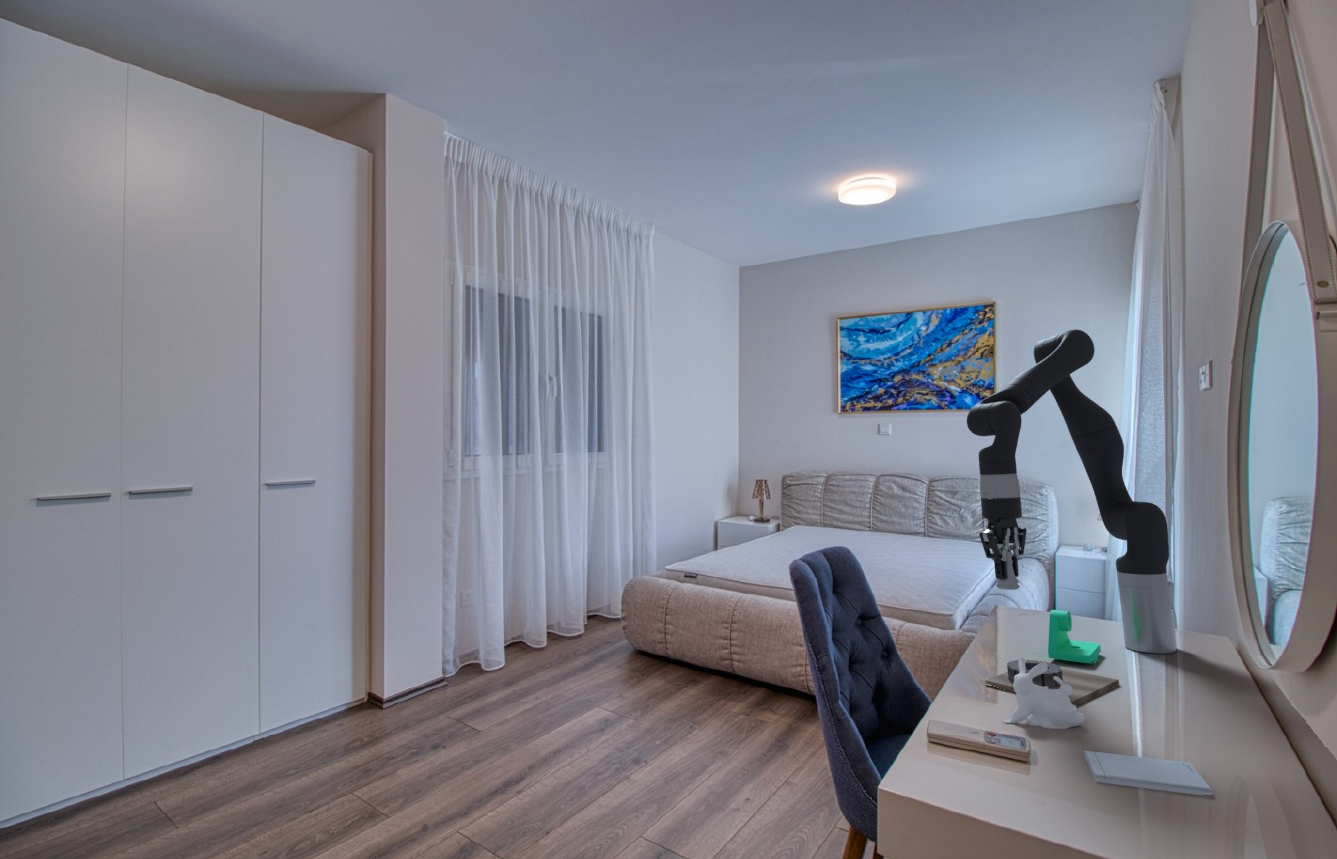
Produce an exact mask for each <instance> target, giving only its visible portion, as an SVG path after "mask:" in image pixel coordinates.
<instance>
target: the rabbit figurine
mask: <svg viewBox="0 0 1337 859" xmlns="http://www.w3.org/2000/svg"><path fill="white" fill-rule="evenodd" d="M1018 660H1019V661H1018V665H1019V671H1020V673H1019V674H1017V675H1015V676H1014V684H1013V687H1014V691H1015V692H1016V696H1015V698H1016V701H1017V703H1018V704H1017V707H1016V708H1015V710H1014V711H1013V713H1012V714H1011V716H1010V718H1008V719H1003V720H1004V721H1005V724H1006V723H1007V724H1012V723H1013V724H1014V725H1015V724H1018V723H1020V722H1022V721H1024V720H1026V721H1028V722H1027V723H1028V725H1030V726H1033V727H1034V726H1036V727H1037V726H1038V727H1042V728H1044V729H1053V730H1054V729H1059V730H1067V729H1069V728H1074V727H1079V726H1081V725H1082V724H1083V723H1084V722H1085V715H1084V713H1082V712H1079V711H1078V708H1077V706H1076V705H1075V706H1074V705H1073V704H1072V703H1071V701H1070V698H1069V697H1068V695H1072V694H1073V689H1072V687H1071V686H1070V685H1068V684H1065V683H1064V682H1063V681H1062V680H1061V679H1060V678H1059V677H1057V676H1054V677H1053V678H1054V680H1055V681H1057V682H1058V683H1059V684H1060V685H1061V687H1060V688H1059V689H1048V687H1049V686H1045V687H1041V686H1038V685H1035V684H1034V683H1033V681H1032V679H1033V678H1034V677H1036V676H1038V675H1040V674H1042V673H1044V672H1046V671H1047V670H1048V666H1047V663H1046V662H1047V661H1046V660H1042V661H1043V662H1041V663H1040V664H1038V665H1036V666H1035V667H1033V668H1032V669H1031V670H1030V671H1029V672H1028V673H1026V667H1025V660H1026V659H1025V658H1024V657H1020V658H1019V659H1018Z"/></svg>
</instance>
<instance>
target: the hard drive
mask: <svg viewBox="0 0 1337 859" xmlns="http://www.w3.org/2000/svg"><path fill="white" fill-rule="evenodd" d="M1083 755H1084V758H1085V760H1086V762H1087V765H1088V768H1089V769H1090V770H1089V771H1090V772H1091V774H1092V776H1093V779H1094V782H1095V783H1103V784H1109V785H1110V784H1111V785H1118V786H1127V787H1133V788H1141V789H1149V790H1154V791H1155V790H1157V791H1165V792H1173V793H1180V794H1185V795H1186V794H1188V795H1194V796H1196V795H1197V796H1202V795H1212V796H1213V792H1212V788H1211V786H1210V784H1208V782H1207V781H1206V780H1205V778H1204V777H1203V776H1202V775H1201V774H1200V772H1199V771H1198V770H1197V769H1196V768H1195V766H1194V765H1193V763H1192V762H1187V761H1178V760H1169V759H1161V758H1152V757H1144V756H1135V755H1134V756H1133V755H1127V754H1119V753H1108V752H1103V751H1102V752H1101V751H1091V750H1084V754H1083Z"/></svg>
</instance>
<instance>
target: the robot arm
mask: <svg viewBox="0 0 1337 859" xmlns="http://www.w3.org/2000/svg"><path fill="white" fill-rule="evenodd" d="M1094 356H1095V345H1094V342H1093V339H1092V337H1091V336H1090V335H1089V334H1088V333H1087V332H1085V331H1083V330H1082V329H1076V328H1075V329H1068V330H1066V331H1062V332H1059V333H1056V334H1054V335H1052V336H1049V337H1046V338H1043V339H1042V340H1039V341H1037V343H1035V345H1034V347H1033V357H1034V361H1035V364H1034V365H1033V366H1030V367H1029V368H1027V369H1025V370H1023V371H1022V372H1020V373H1019V374H1017V375H1016V376H1014V377H1013V378H1012V379H1010V381H1008V382H1007V383H1006V384H1005V385H1004V386H1003V387H1001V389H1000V390H999V391H997V392H995V393H993V394H991V395H989V396H988V397H986V398H984V399H982V400H980V401H979V402H977V403H976V404H975V405H973V406H972V407H971V408H970V410H969V411H968V414H967V416H966V425H967V428H968V430H969V431H970V432H971V433H972V434H974V435H975V436H978V437H991V436H992V437H993V436H994V438H993V442H992V444H991V445H989V446H986V447H984V448H982V449H980V450H979V452H978V466H979V493H980V494H979V497H980V506H981V507H980V508H981V516H982V518H984V519H987V527H986V530H985V531H979V533H978V534H979V539H980V542H981V545H982V547H983V550H984V554H985V557H986V559H990V560H992V561H993V564H994V565H993V566H994V576H995V578H996V579H1007V578H1008V575H1007V564H1006V561H1005V560H1006V550H1008V549H1011V552H1012V553H1013V554H1014V555H1013V556H1012V561H1013V563H1012V566H1013V571H1014V574H1015V576H1016V578H1018V577H1019V576H1020V575H1019V563H1018V562H1019V561H1018V559H1020V556H1024V554H1025V547H1026V546H1025V545H1026V539H1027V528H1026V527H1020V526H1019V524H1018V521H1017V519H1021V518H1022V517H1023V511H1022V499H1021V487H1020V482H1019V478H1018V471H1017V469H1018V468H1017V460H1016V454H1017V453H1016V452H1017V448H1018V442H1019V438H1020V433H1021V429H1022V415H1023V414H1025V413H1027V411H1028V410H1029V409H1030V408H1032V406H1034V405H1035V404H1036V403H1037V402H1038V401H1039V400H1041V398H1042V397H1043V396H1045V394H1047V392H1049V391H1050V394H1052V396H1053V398H1054V401H1055V402H1056V404H1057V406H1058V408H1059V411H1060V413H1061V415H1062V417H1063V420H1064V423H1065V424H1066V427H1067V429H1068V430H1067V431H1068V432H1069V435H1070V438H1071V440H1072V442H1073V444H1074V447H1075V449H1076V451H1077V454H1078V456H1079V458H1080V460H1081V463H1082V464H1083V467H1084V471H1085V473H1086V475H1087V477H1088V480H1089V482H1090V485H1091V487H1092V490H1093V493H1094V496H1095V500H1096V503H1097V504H1096V505H1097V508H1098V511H1099V515H1100V517H1101V520H1102V523H1103V526H1104V528H1105V530H1106V531H1107V532H1108V533H1109V534H1110V535H1111V536H1112V537H1114V538H1116V539H1118V540H1122V541H1126V552H1125V554H1123V555H1122V556H1119V557H1118V558H1116V559H1115V567H1116V577H1117V584H1118V593H1119V603H1120V611H1121V612H1120V613H1121V620H1122V628H1123V629H1122V630H1123V640H1124V646H1125V647H1126V648H1127V649H1129V650H1132V651H1136V652H1141V653H1148V654H1161V655H1162V654H1173V653H1176V652H1177V647H1176V646H1177V645H1176V638H1175V629H1174V621H1173V620H1174V619H1173V614H1172V612H1173V611H1172V604H1171V596H1170V588H1169V580H1168V571H1167V565H1168V562H1169V560H1170V545H1169V544H1170V543H1169V528H1168V523H1167V518H1166V515H1165V514H1164V512H1163V510H1162V509H1161V508H1160V507H1159V506H1158V505H1156V504H1154V503H1153V502H1147V501H1135V500H1133V499H1132V498H1131V496H1130V493H1129V491H1128V489H1127V487H1126V484H1125V480H1124V477H1123V465H1124V458H1125V445H1124V441H1123V437H1122V435H1121V432H1120V431H1119V429H1118V426H1117V424H1116V421H1115V419H1114V417H1113V416H1112V415H1111V414H1110V413H1109V412H1108V411H1107V410H1106V409H1105V408H1103V407H1102V406H1100V405H1099V404H1098V403H1096V402H1095V401H1094V400H1092V399H1091V398H1089V397H1088V396H1087V395H1085V393H1083V392H1082V391H1081V390H1080V389H1079V388H1078V386H1077V385H1076V383H1075V381H1074V380H1073V379H1072V378H1073V377H1072V376H1071V374H1073V373H1075V372H1076V371H1078V370H1079V369H1081V368H1084V366H1087V365H1088V364H1089V363H1090V362H1092V360H1093V358H1094ZM999 549H1000V550H1001V553H1000V552H999Z"/></svg>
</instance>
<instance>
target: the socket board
mask: <svg viewBox="0 0 1337 859" xmlns="http://www.w3.org/2000/svg"><path fill="white" fill-rule="evenodd" d="M1018 661H1019V659H1016V660H1011V661H1008V662H1007V663H1006V668H1007V671H1006V672H1004V673H1001V674H998V675H995V676H993V677H990V678H987V679H985V680H984V681H985V684H986V683H987V684H990V685H992V686H995V687H998V688H1001V689H1000V690H1002V689H1005V690H1004V691H1006V690H1007V691H1006V692H1009V693H1016V692H1015V691H1014V687H1013V684H1014V676H1015V675H1017V674H1019V673H1020V671H1019V665H1018ZM1043 661H1044V660H1036V659H1035V660H1034V659H1025V667H1026V673H1028V672H1029V671H1030V670H1031V669H1032V668H1033V667H1035V666H1036V665H1038V664H1040V663H1041V662H1043ZM1045 662H1046V663H1047V666H1048V670H1047V671H1046V672H1044V673H1042V674H1040V675H1038V676H1036V677H1034V678H1033V679H1032V681H1033V683H1034V684H1035V685H1038V686H1041V687H1045V686H1049V687H1048V689H1059V688H1060V687H1061V685H1060V684H1059V683H1058V682H1057V681H1055V680H1054V678H1053V677H1054V676H1057V677H1059V678H1060V679H1061V680H1062V681H1063V682H1064V683H1065V684H1068V685H1070V686H1071V687H1072V689H1073V694H1072V695H1068V697H1069V698H1070V701H1071V703H1072V704H1073V705H1074V706H1075V705H1076V707H1077V706H1079V705H1081V704H1083V703H1086V702H1087V701H1089V700H1092V699H1093V698H1096V697H1099V695H1102V694H1104V693H1106V692H1108V691H1110V690H1112V689H1115V688H1116V687H1118V686H1120V680H1119V679H1117V678H1112V677H1108V676H1107V677H1106V676H1102V675H1097V674H1092V673H1088V672H1082V671H1078V670H1073V669H1067V668H1064V667H1060V666H1059V665H1057V664H1055V663H1051V662H1047V661H1045ZM998 688H997V689H998ZM1016 694H1017V693H1016Z"/></svg>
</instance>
